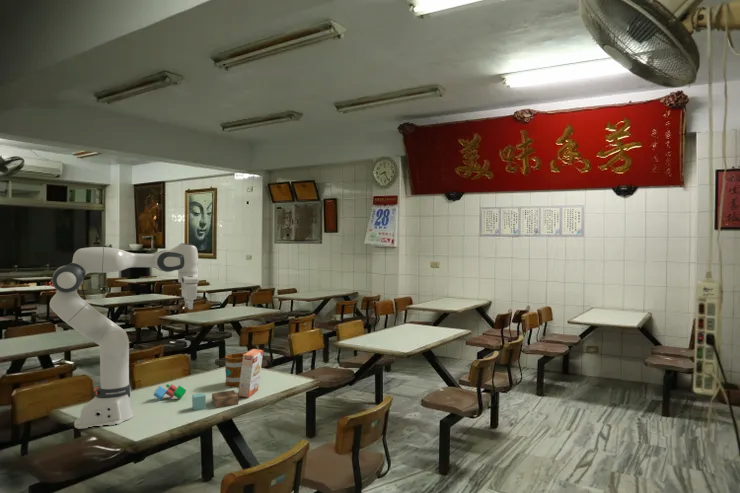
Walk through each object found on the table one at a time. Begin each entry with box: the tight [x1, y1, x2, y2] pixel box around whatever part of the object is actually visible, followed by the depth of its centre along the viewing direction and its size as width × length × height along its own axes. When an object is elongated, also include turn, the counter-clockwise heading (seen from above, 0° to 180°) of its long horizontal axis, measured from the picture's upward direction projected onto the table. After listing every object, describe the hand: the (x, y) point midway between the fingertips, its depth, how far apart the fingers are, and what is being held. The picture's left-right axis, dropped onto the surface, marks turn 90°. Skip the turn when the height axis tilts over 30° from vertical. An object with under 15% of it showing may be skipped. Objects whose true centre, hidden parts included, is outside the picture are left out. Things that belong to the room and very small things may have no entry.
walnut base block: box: [211, 389, 239, 409], centre depth 232 cm, size 10×10×4 cm
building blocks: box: [153, 383, 187, 400], centre depth 239 cm, size 8×8×12 cm
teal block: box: [191, 392, 207, 411], centre depth 225 cm, size 5×5×6 cm
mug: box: [224, 352, 245, 388], centre depth 262 cm, size 20×14×15 cm
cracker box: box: [237, 348, 264, 399], centre depth 245 cm, size 14×6×21 cm, turn 173°
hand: (188, 308), depth 228 cm, fingers open, 8 cm apart
